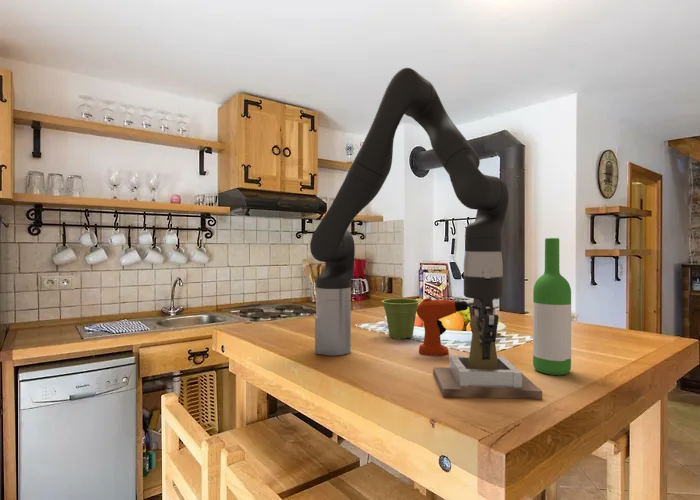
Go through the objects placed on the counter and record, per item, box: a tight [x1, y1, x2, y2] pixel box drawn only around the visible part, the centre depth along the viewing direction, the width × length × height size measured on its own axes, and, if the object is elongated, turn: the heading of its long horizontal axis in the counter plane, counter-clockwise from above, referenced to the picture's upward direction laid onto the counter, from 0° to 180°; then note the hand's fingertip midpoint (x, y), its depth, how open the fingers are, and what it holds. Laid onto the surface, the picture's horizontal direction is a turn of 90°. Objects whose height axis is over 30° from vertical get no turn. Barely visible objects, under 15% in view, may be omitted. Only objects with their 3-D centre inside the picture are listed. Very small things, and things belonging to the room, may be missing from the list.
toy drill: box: [416, 297, 473, 356], centre depth 109 cm, size 5×19×15 cm, turn 82°
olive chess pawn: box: [468, 316, 499, 370], centre depth 84 cm, size 6×6×11 cm
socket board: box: [432, 366, 543, 400], centre depth 84 cm, size 18×14×2 cm
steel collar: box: [448, 354, 523, 389], centre depth 84 cm, size 11×12×3 cm
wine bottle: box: [532, 237, 572, 376], centre depth 94 cm, size 8×8×30 cm
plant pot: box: [381, 298, 421, 340], centre depth 130 cm, size 12×12×11 cm
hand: (482, 358), depth 84 cm, fingers closed on olive chess pawn, 3 cm apart
